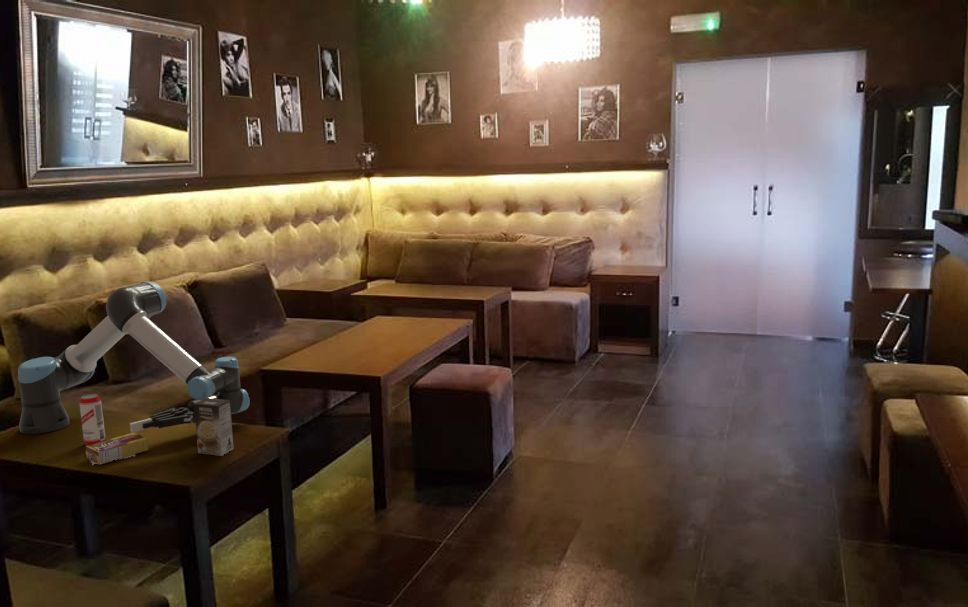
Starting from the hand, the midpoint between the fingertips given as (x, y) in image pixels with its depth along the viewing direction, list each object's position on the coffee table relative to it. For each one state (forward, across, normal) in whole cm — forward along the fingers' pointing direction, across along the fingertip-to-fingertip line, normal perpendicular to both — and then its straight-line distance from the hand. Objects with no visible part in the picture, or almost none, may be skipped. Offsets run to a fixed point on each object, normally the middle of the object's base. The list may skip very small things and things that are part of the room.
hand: (130, 427), depth 246 cm
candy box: (-3, 0, -5) cm, 6 cm away
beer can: (+6, +16, -8) cm, 19 cm away
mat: (+6, +2, -8) cm, 10 cm away
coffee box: (-17, -21, -8) cm, 28 cm away
